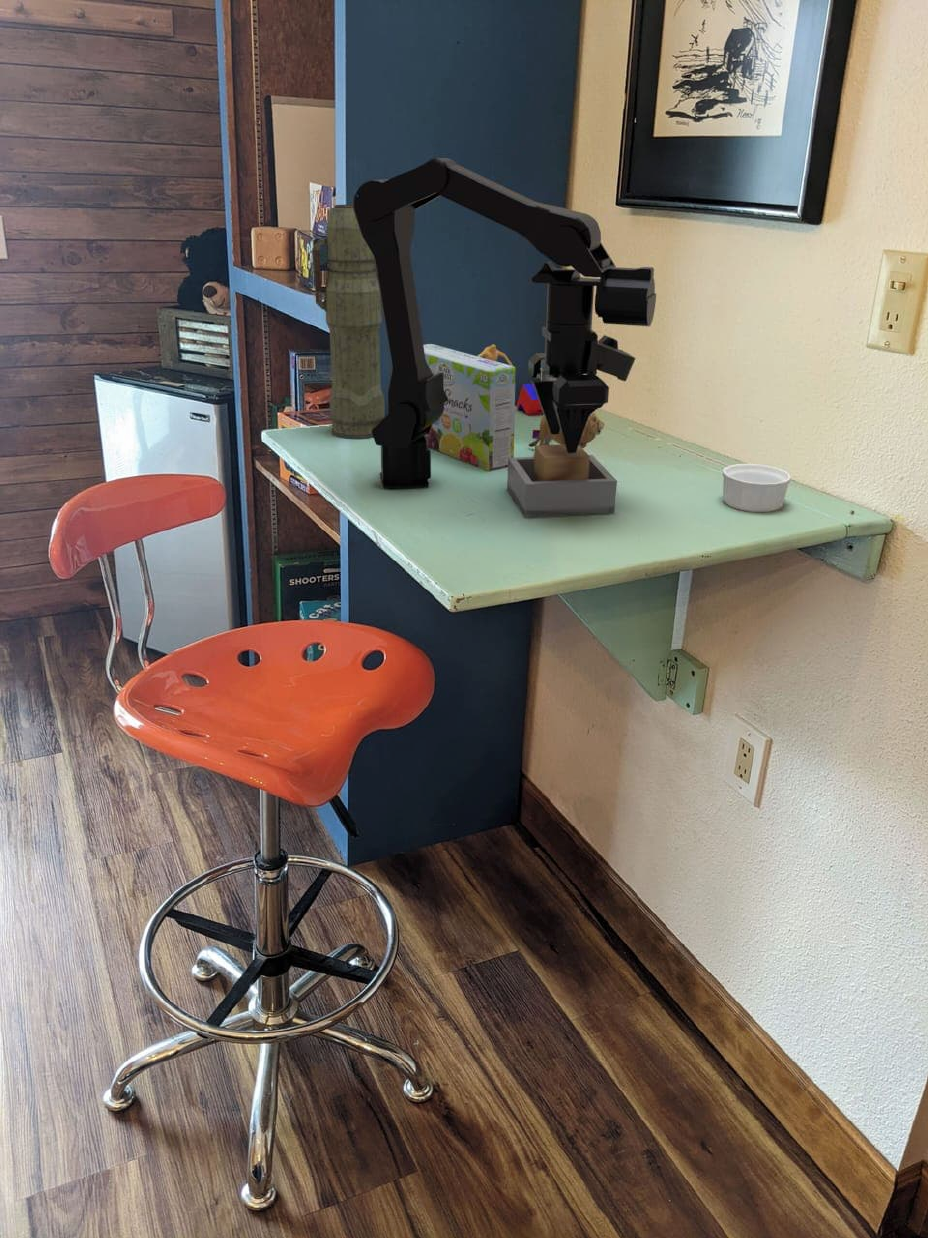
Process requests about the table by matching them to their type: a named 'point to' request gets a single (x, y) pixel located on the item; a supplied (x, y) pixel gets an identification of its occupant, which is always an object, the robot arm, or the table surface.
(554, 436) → the lion figurine
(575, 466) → the walnut cube
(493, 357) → the figurine
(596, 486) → the grey square tray
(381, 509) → the table surface
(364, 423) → the thermos
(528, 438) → the table surface
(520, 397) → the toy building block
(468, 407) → the snack box
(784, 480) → the ramekin
